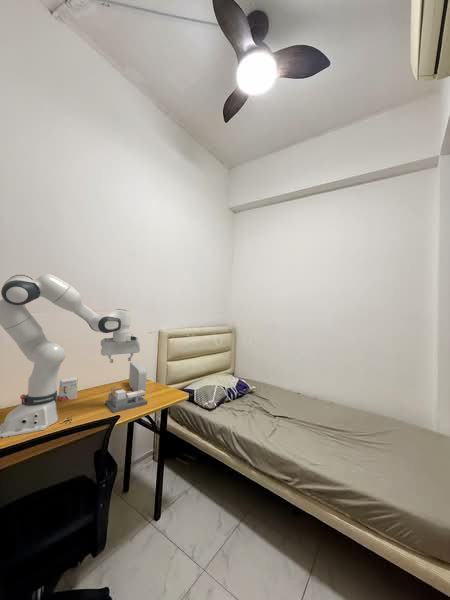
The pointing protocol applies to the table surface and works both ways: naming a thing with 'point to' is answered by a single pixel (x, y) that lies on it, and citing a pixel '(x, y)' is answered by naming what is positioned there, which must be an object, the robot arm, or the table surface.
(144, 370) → the rounded white slab
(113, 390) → the orange button
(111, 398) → the grey stepped base
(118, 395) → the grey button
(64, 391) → the ink box
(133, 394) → the rocker
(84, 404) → the table surface
